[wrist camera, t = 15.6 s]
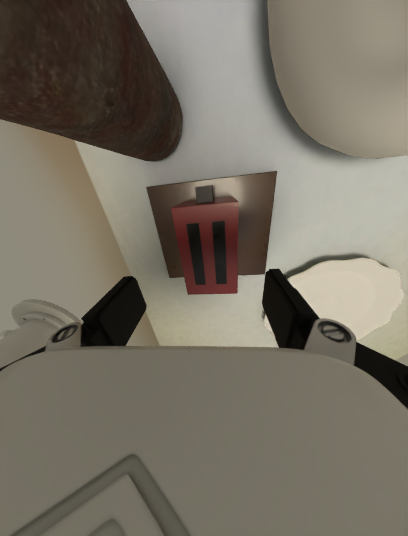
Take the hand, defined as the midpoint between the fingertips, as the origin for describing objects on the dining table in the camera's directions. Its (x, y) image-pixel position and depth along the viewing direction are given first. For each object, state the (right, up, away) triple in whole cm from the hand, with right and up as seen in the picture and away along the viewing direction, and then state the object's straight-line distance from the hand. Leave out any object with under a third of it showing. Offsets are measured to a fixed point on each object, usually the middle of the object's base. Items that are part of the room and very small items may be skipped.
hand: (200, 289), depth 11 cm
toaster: (+1, +6, +11) cm, 12 cm away
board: (+2, +7, +11) cm, 13 cm away
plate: (+22, -5, +16) cm, 28 cm away
